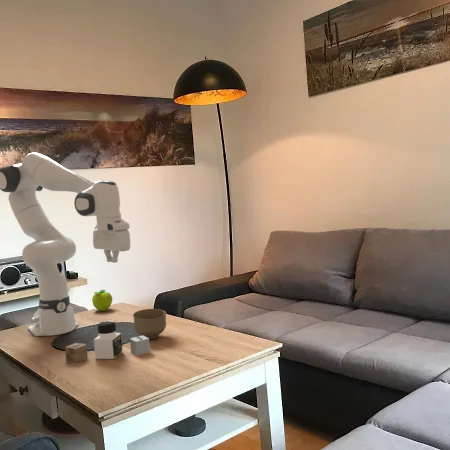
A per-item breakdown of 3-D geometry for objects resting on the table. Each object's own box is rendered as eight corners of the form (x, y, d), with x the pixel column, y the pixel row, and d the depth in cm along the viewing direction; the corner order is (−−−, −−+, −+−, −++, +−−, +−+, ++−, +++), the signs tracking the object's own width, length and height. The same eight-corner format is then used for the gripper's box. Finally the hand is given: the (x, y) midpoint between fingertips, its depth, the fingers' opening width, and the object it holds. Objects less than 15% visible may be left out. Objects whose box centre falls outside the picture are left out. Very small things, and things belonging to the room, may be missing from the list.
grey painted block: (131, 352, 175) (129, 337, 174) (143, 348, 178) (142, 334, 177) (136, 355, 171) (135, 341, 170) (149, 352, 174) (148, 337, 173)
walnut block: (66, 361, 169) (65, 346, 169) (77, 356, 174) (76, 342, 173) (76, 363, 167) (75, 348, 166) (87, 358, 171) (86, 343, 171)
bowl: (144, 345, 181) (142, 319, 180) (129, 338, 191) (127, 312, 190) (173, 337, 188) (172, 312, 187) (158, 330, 198) (156, 306, 198)
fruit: (89, 312, 235) (87, 292, 234) (100, 307, 244) (98, 287, 243) (106, 313, 232) (104, 292, 231) (116, 308, 241) (114, 288, 240)
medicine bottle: (114, 359, 168) (111, 325, 167) (94, 359, 169) (92, 325, 168) (122, 352, 175) (120, 319, 174) (104, 352, 176) (101, 319, 175)
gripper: (87, 224, 186) (90, 261, 187) (116, 226, 171) (119, 265, 172) (102, 223, 190) (105, 258, 191) (132, 224, 175) (135, 262, 177)
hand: (112, 262), depth 182 cm, fingers closed
